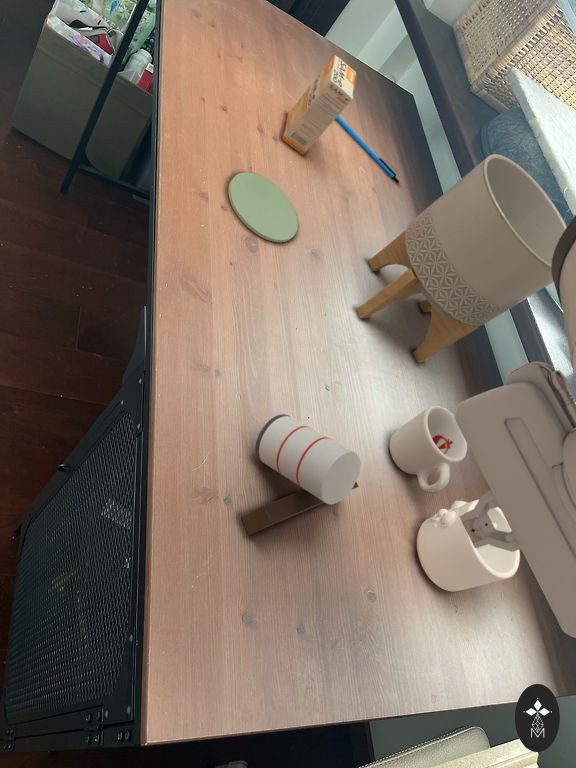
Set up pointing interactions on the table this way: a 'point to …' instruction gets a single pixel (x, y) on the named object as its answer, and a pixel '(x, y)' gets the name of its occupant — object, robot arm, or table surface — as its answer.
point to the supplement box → (320, 105)
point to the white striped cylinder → (308, 458)
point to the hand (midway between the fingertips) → (470, 530)
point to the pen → (367, 149)
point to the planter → (473, 252)
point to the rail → (280, 510)
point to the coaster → (263, 207)
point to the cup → (429, 446)
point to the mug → (462, 551)
